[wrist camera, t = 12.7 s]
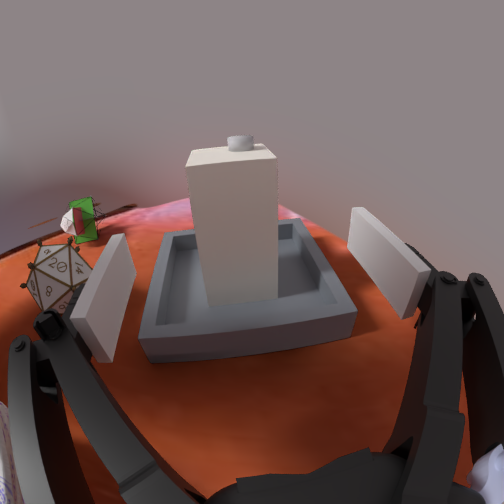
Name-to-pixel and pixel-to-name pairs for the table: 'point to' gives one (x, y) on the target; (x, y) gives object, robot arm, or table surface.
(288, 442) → the table surface
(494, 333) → the robot arm
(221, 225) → the carton
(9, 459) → the white round bowl
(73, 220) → the geometric puzzle
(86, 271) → the game die
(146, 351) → the tray
